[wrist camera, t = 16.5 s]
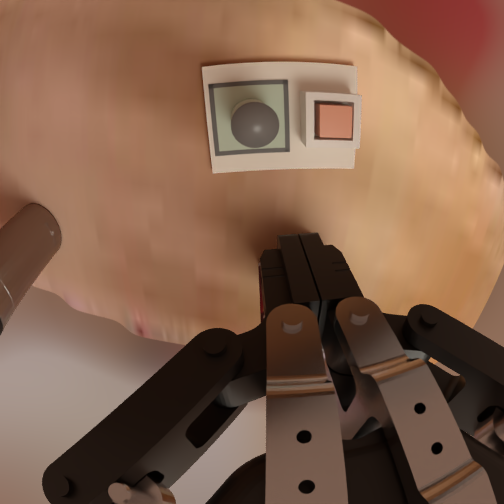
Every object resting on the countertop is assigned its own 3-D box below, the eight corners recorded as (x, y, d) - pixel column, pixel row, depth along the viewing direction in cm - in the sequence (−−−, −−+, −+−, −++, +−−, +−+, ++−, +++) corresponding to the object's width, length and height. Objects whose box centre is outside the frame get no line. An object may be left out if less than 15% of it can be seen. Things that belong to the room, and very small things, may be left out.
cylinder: (239, 140, 28) (241, 154, 23) (225, 106, 26) (223, 112, 21) (275, 127, 27) (285, 138, 22) (262, 93, 25) (269, 95, 20)
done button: (314, 132, 26) (319, 137, 25) (314, 102, 25) (319, 104, 23) (343, 133, 26) (351, 138, 24) (344, 104, 25) (352, 106, 23)
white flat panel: (213, 170, 31) (212, 173, 30) (203, 67, 24) (201, 66, 23) (351, 165, 31) (354, 168, 30) (353, 66, 24) (357, 66, 23)
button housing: (300, 140, 28) (306, 147, 26) (299, 90, 25) (305, 91, 23) (349, 141, 28) (359, 148, 26) (351, 93, 25) (361, 95, 22)
